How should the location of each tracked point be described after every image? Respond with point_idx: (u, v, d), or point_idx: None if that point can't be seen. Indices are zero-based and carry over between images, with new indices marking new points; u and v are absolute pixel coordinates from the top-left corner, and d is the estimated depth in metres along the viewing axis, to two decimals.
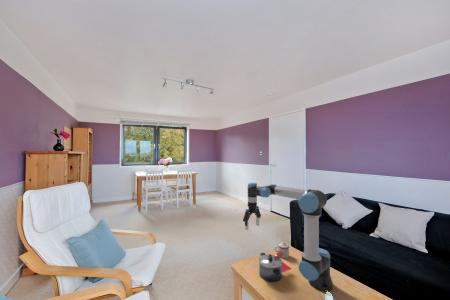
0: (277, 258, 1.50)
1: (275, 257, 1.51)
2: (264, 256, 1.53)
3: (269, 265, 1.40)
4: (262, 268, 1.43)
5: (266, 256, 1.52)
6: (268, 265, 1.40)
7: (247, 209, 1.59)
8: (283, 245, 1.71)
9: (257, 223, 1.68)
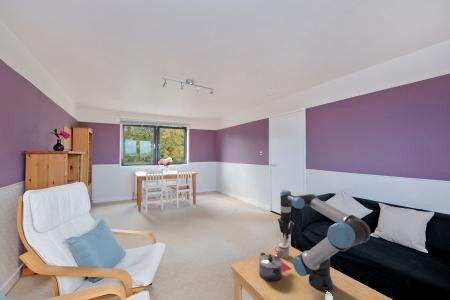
0: (277, 258, 1.50)
1: (275, 257, 1.51)
2: (264, 256, 1.53)
3: (269, 265, 1.40)
4: (262, 268, 1.43)
5: (266, 256, 1.52)
6: (268, 265, 1.40)
7: (278, 219, 1.54)
8: (283, 245, 1.71)
9: None
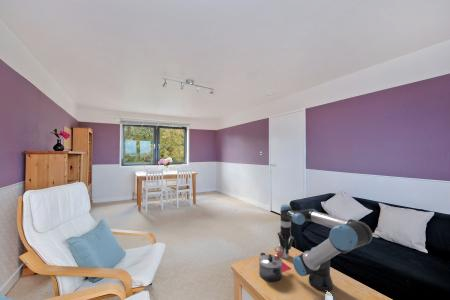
0: (277, 258, 1.50)
1: (275, 257, 1.51)
2: (264, 256, 1.53)
3: (269, 265, 1.40)
4: (262, 268, 1.43)
5: (266, 256, 1.52)
6: (268, 265, 1.40)
7: None
8: None
9: None
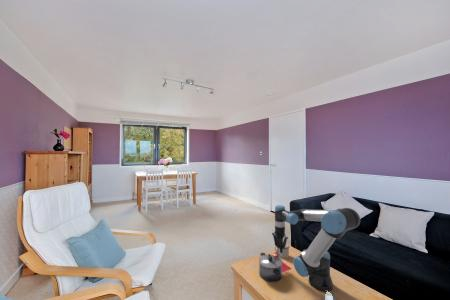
0: (276, 258, 1.50)
1: (274, 257, 1.51)
2: (263, 256, 1.52)
3: (270, 265, 1.40)
4: (262, 268, 1.43)
5: (265, 256, 1.52)
6: (269, 265, 1.40)
7: (272, 233, 1.58)
8: None
9: None
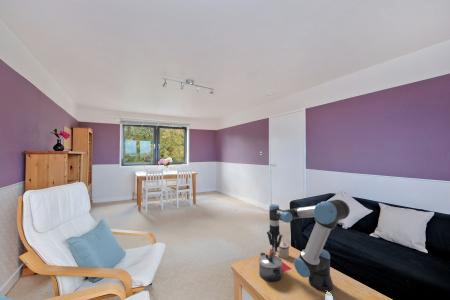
0: (273, 256, 1.52)
1: (271, 256, 1.53)
2: (261, 257, 1.50)
3: (274, 265, 1.40)
4: (262, 268, 1.43)
5: (263, 257, 1.51)
6: (273, 266, 1.40)
7: (267, 232, 1.61)
8: (283, 245, 1.71)
9: None
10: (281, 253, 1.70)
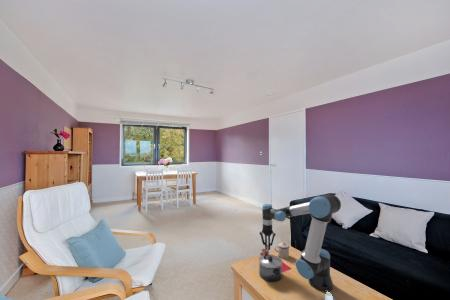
0: (269, 255, 1.53)
1: (267, 255, 1.53)
2: (261, 260, 1.47)
3: (277, 264, 1.42)
4: (262, 268, 1.43)
5: (262, 259, 1.49)
6: (277, 265, 1.41)
7: None
8: (283, 245, 1.71)
9: (267, 251, 1.59)
10: (281, 253, 1.70)
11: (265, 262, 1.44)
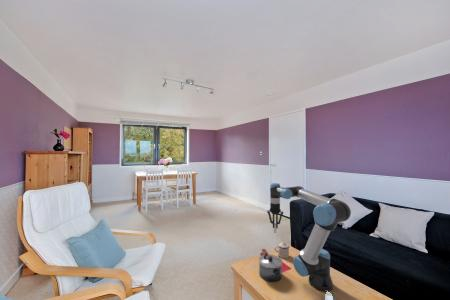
0: (269, 255, 1.53)
1: (267, 255, 1.53)
2: (261, 260, 1.47)
3: (277, 264, 1.42)
4: (262, 268, 1.43)
5: (262, 259, 1.49)
6: (277, 265, 1.41)
7: (267, 211, 1.61)
8: (283, 245, 1.71)
9: None
10: (281, 253, 1.70)
11: (265, 262, 1.44)
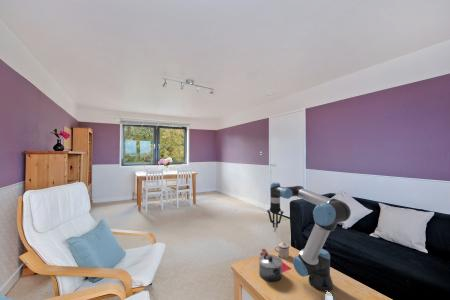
0: (269, 255, 1.53)
1: (267, 255, 1.53)
2: (261, 260, 1.47)
3: (277, 264, 1.42)
4: (262, 268, 1.43)
5: (262, 259, 1.49)
6: (277, 265, 1.41)
7: (267, 210, 1.61)
8: (283, 245, 1.71)
9: None
10: (281, 253, 1.70)
11: (265, 262, 1.44)
